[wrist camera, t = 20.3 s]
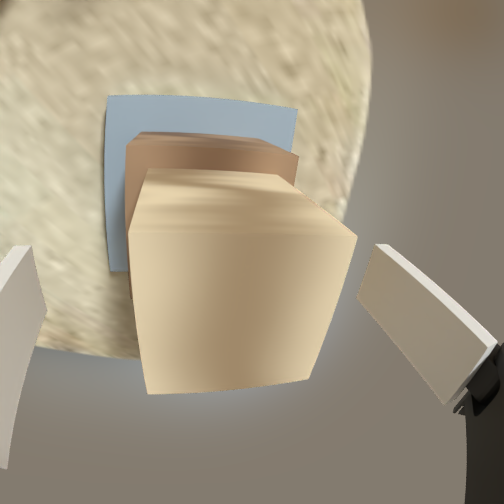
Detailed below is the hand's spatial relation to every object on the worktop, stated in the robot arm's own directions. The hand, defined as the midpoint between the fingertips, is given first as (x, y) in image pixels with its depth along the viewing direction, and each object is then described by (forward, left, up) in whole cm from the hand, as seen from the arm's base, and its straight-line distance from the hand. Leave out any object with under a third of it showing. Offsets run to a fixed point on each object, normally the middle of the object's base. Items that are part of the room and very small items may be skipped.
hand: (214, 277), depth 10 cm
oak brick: (0, 0, -5) cm, 5 cm away
